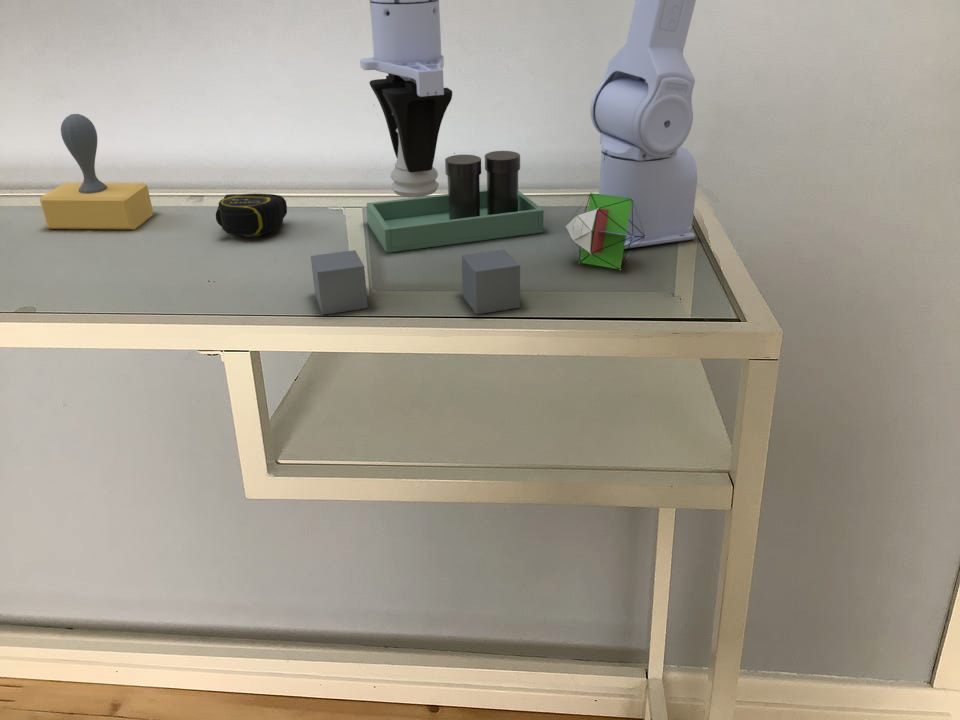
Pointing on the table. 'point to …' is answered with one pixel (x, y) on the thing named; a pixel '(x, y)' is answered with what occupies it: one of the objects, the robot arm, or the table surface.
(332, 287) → the grey cube
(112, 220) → the rubber stamp
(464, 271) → the grey cube
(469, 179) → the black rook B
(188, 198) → the table surface
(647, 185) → the robot arm
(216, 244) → the table surface
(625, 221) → the geometric puzzle
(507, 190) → the black capped canister
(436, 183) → the rook chess piece
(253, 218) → the tape measure
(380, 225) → the tray
